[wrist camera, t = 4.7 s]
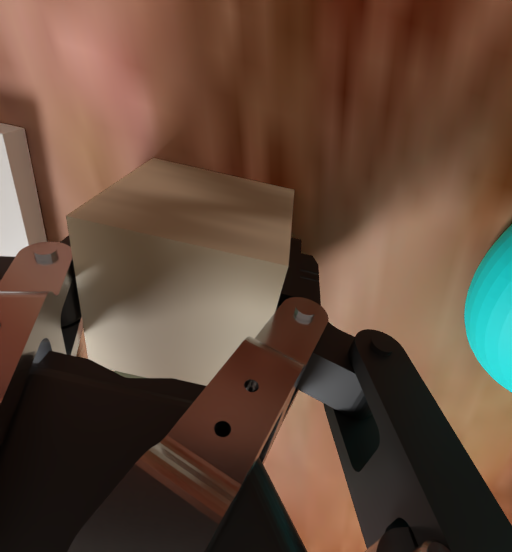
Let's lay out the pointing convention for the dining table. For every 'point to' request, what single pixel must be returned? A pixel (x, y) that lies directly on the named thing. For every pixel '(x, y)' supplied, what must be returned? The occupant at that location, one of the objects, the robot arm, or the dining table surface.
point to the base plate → (17, 194)
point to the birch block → (178, 268)
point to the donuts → (492, 311)
